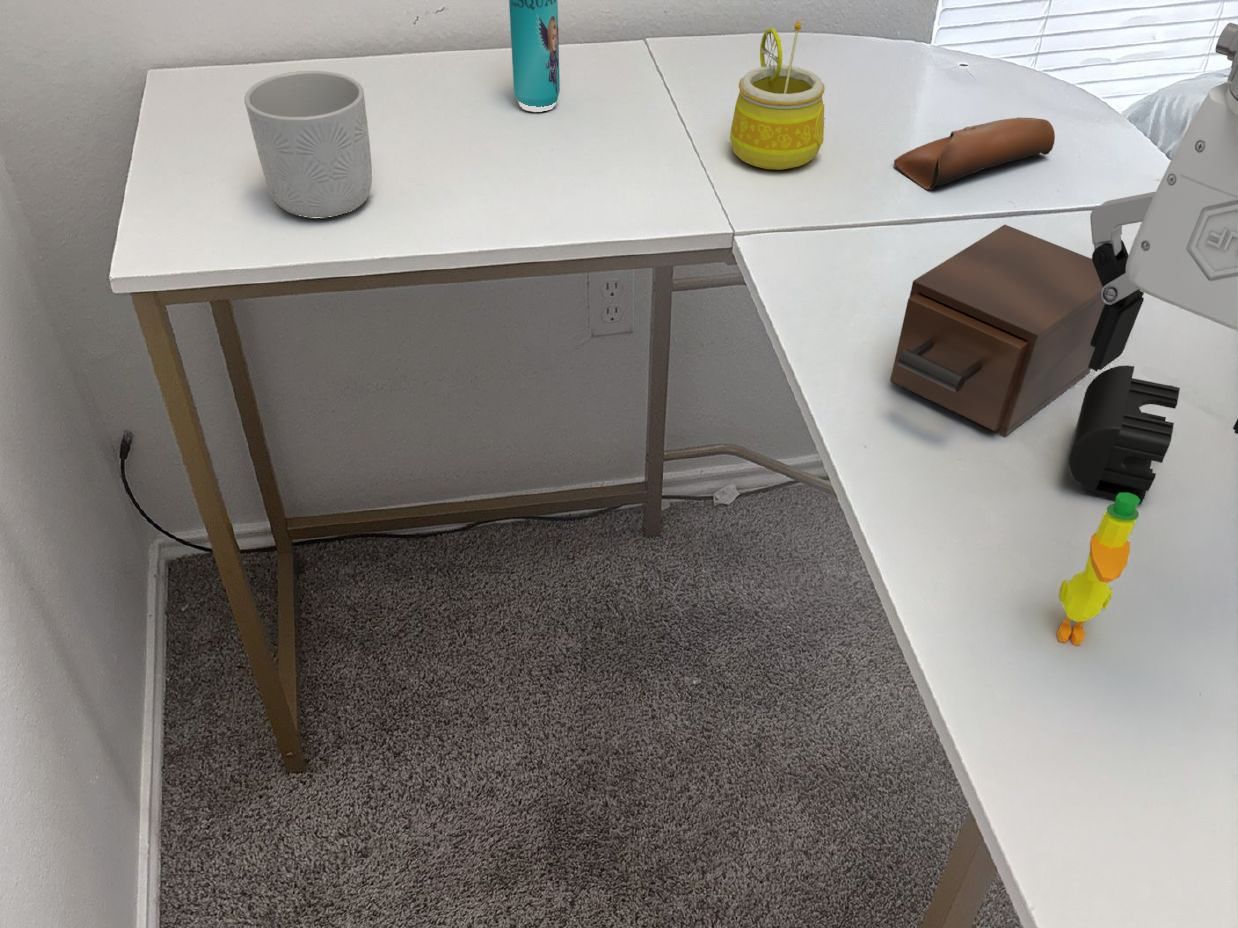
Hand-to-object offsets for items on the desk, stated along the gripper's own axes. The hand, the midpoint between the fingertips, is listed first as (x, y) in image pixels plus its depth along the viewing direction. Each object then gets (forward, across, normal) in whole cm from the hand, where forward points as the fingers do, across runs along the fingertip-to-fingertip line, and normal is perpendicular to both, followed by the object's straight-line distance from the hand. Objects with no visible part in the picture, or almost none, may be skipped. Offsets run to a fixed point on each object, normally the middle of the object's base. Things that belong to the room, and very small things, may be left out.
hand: (1174, 392), depth 70 cm
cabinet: (+20, -24, +26) cm, 41 cm away
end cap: (+20, -9, +21) cm, 31 cm away
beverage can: (+20, -99, +38) cm, 108 cm away
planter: (+21, -97, +3) cm, 99 cm away
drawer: (+19, -24, +23) cm, 38 cm away
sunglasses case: (+20, -51, +63) cm, 84 cm away
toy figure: (+21, 0, 0) cm, 21 cm away
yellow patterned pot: (+20, -69, +49) cm, 87 cm away
